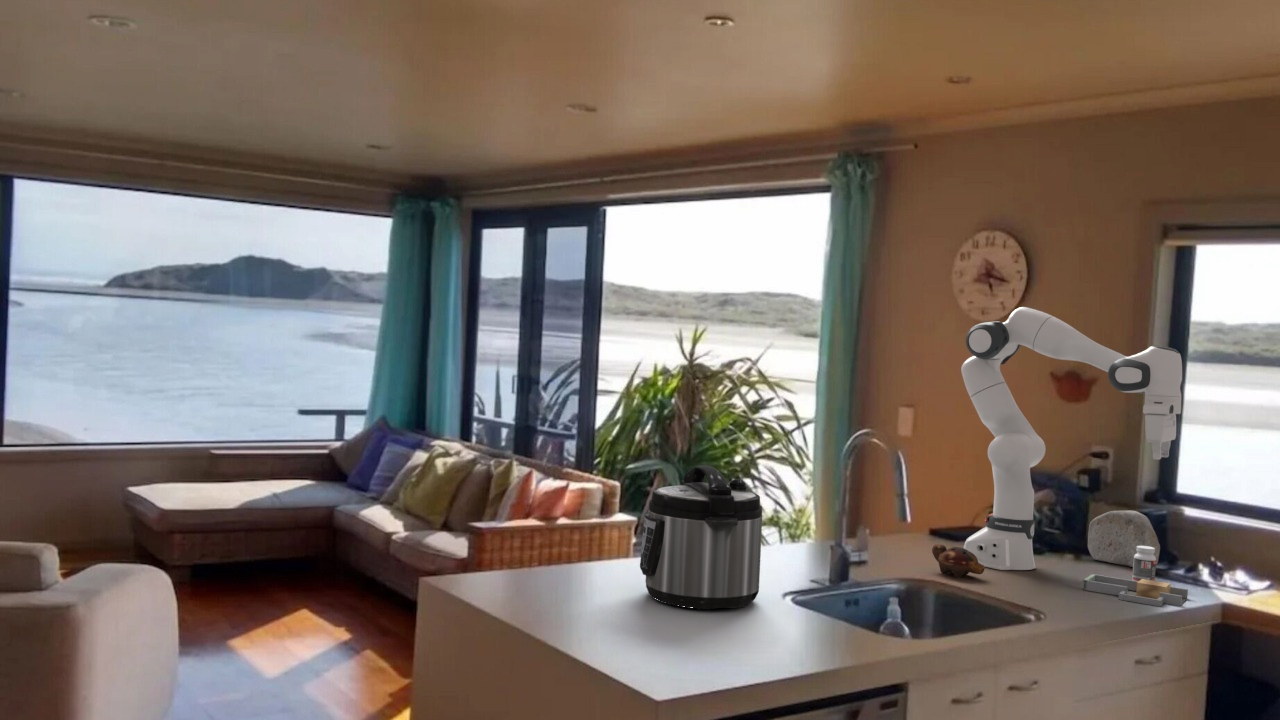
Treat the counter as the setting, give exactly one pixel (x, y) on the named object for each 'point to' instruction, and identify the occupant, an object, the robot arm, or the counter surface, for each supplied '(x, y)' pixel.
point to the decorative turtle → (956, 560)
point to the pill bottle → (1144, 564)
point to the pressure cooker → (703, 542)
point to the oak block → (1151, 588)
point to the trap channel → (1122, 585)
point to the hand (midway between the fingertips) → (1160, 458)
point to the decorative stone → (1120, 536)
